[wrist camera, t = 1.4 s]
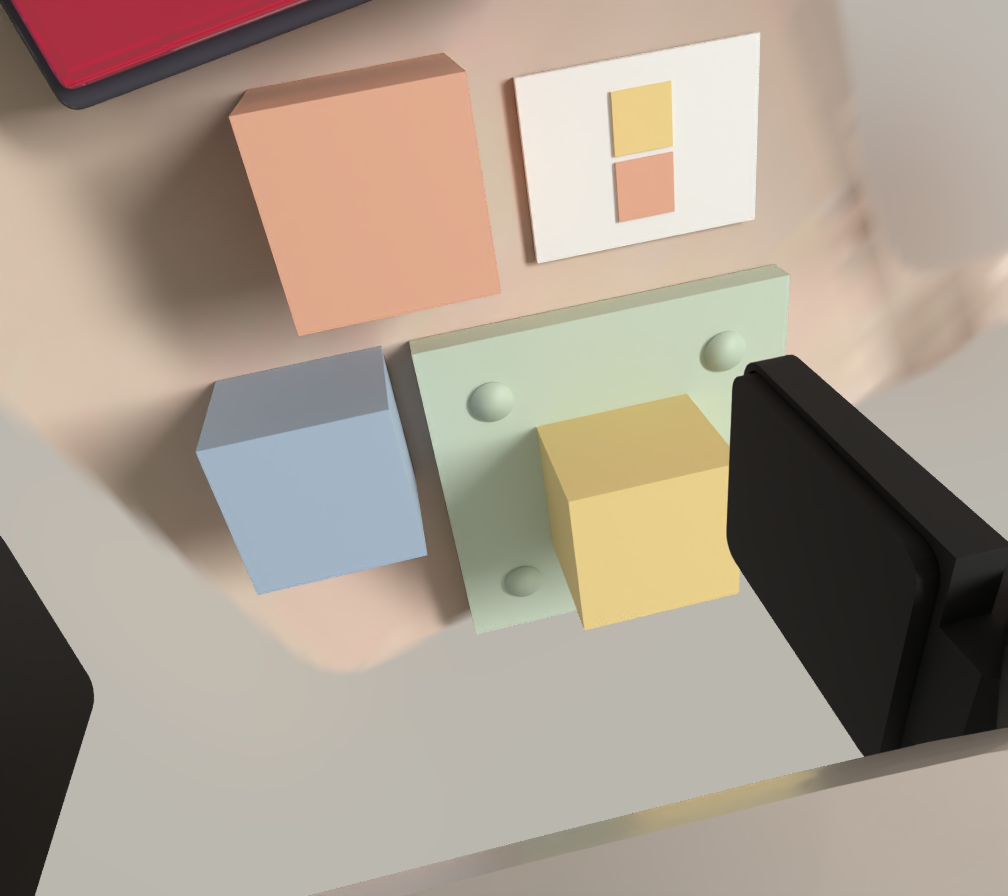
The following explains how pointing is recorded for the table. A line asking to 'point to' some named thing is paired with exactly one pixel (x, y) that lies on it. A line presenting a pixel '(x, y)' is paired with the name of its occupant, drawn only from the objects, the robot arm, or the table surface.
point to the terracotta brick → (370, 191)
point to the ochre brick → (639, 509)
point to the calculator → (146, 38)
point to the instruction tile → (640, 145)
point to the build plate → (572, 411)
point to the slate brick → (312, 470)
